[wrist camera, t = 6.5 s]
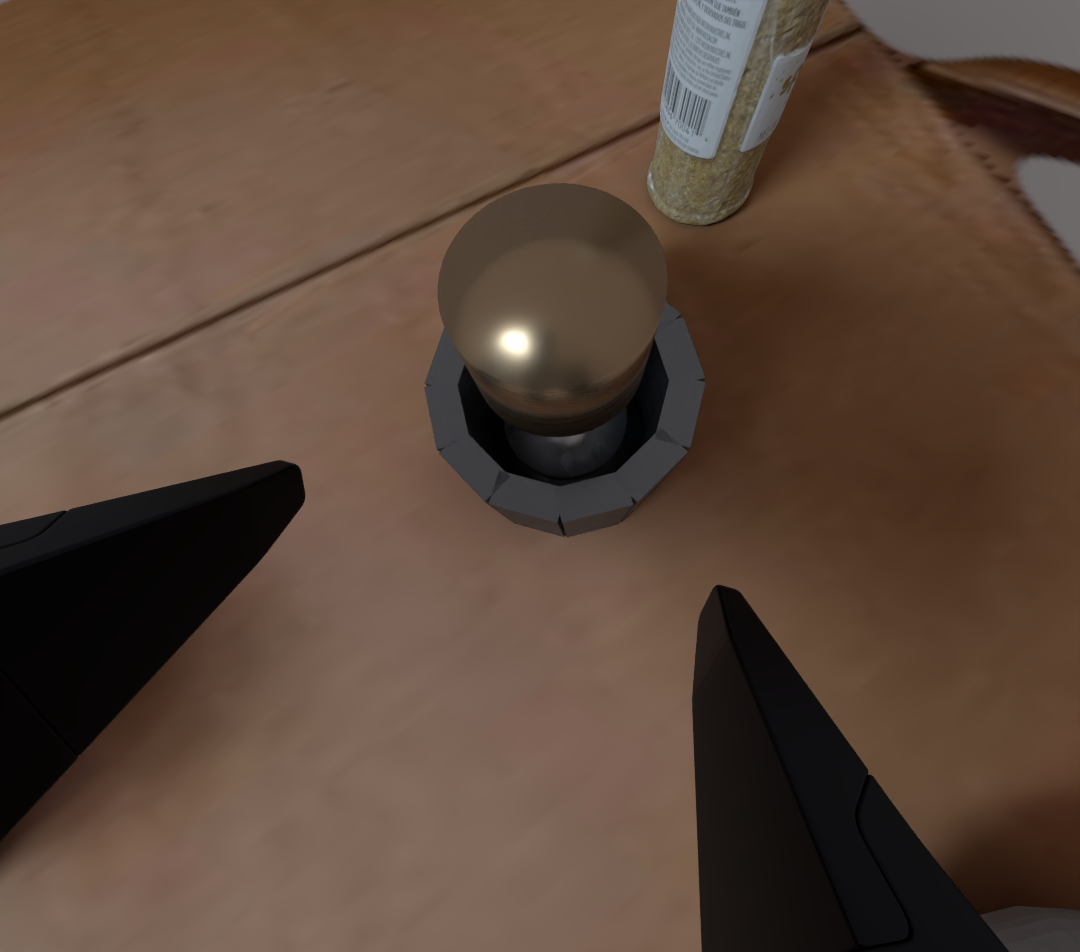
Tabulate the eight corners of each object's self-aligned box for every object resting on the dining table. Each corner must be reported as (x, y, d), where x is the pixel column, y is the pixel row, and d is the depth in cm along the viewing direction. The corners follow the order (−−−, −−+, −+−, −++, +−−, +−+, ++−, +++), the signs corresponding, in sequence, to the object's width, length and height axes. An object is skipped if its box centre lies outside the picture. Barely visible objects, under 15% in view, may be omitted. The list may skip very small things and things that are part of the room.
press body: (641, 558, 17) (665, 553, 12) (443, 503, 18) (391, 477, 13) (698, 320, 19) (740, 230, 14) (515, 283, 20) (494, 188, 15)
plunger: (608, 494, 16) (636, 413, 8) (492, 463, 17) (406, 359, 8) (637, 381, 17) (690, 203, 9) (525, 356, 17) (477, 167, 9)
